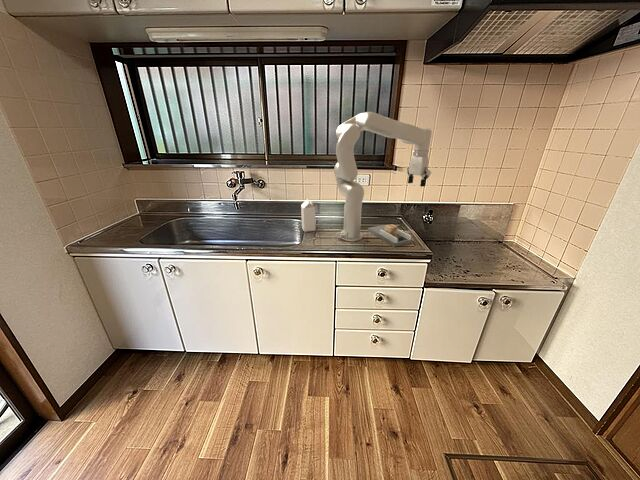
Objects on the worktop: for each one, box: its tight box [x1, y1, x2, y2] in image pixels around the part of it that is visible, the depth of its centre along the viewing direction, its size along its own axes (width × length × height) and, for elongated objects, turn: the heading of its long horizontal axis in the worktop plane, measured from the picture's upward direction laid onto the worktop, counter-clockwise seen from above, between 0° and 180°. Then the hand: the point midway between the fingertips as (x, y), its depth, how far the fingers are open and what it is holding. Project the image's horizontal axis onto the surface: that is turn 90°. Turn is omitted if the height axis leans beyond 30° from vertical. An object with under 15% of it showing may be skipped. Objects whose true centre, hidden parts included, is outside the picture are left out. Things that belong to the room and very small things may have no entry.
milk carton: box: [300, 198, 316, 233], centre depth 155 cm, size 7×7×19 cm
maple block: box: [384, 223, 399, 236], centre depth 145 cm, size 5×5×5 cm
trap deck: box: [367, 224, 413, 248], centre depth 147 cm, size 12×25×4 cm, turn 24°
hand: (416, 184), depth 147 cm, fingers open, 9 cm apart
